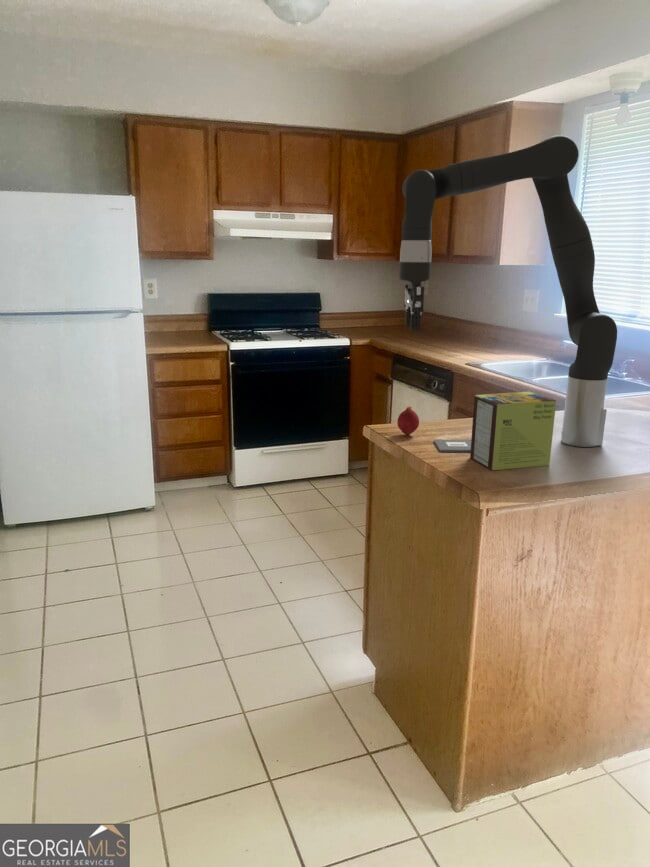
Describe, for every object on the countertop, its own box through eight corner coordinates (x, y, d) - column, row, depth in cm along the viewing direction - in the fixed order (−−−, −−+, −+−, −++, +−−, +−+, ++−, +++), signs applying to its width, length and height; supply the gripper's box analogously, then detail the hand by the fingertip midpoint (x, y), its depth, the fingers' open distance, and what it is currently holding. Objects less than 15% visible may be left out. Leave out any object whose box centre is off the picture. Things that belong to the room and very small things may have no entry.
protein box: (550, 465, 148) (557, 400, 144) (491, 471, 144) (497, 404, 140) (524, 452, 158) (530, 390, 154) (468, 457, 154) (473, 394, 149)
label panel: (506, 442, 166) (507, 439, 166) (517, 452, 158) (517, 449, 157) (433, 441, 166) (433, 439, 166) (440, 451, 157) (440, 449, 157)
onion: (417, 438, 169) (419, 409, 166) (395, 437, 170) (397, 408, 167) (419, 433, 174) (420, 404, 172) (397, 431, 175) (399, 403, 173)
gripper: (436, 260, 147) (432, 332, 151) (426, 260, 161) (422, 325, 165) (404, 260, 147) (401, 331, 151) (396, 260, 160) (393, 325, 165)
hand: (412, 328), depth 158 cm, fingers open, 8 cm apart
